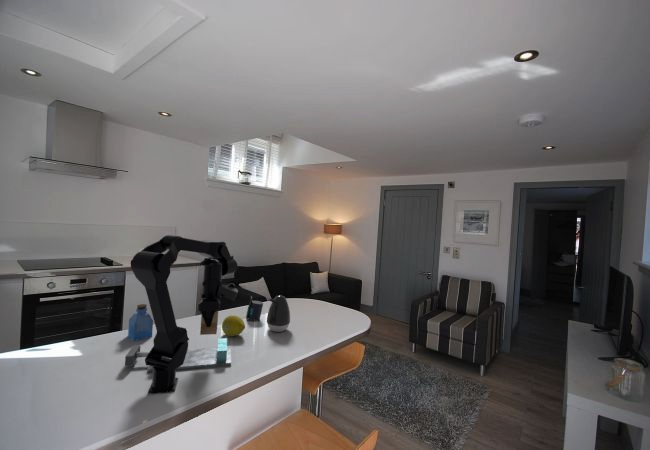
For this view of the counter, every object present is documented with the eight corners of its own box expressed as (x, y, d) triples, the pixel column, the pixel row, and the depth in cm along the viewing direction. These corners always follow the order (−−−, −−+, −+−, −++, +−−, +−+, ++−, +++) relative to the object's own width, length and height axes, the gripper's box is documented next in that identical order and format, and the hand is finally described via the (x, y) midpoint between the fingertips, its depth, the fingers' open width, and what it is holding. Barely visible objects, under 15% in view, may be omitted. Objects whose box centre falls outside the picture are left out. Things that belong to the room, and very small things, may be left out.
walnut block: (216, 334, 98) (218, 310, 98) (200, 334, 97) (201, 310, 97) (217, 328, 103) (218, 305, 103) (201, 329, 101) (203, 305, 101)
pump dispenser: (261, 328, 131) (263, 294, 131) (281, 324, 138) (283, 291, 138) (273, 336, 123) (276, 299, 123) (294, 331, 130) (296, 296, 130)
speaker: (242, 320, 139) (246, 298, 139) (246, 316, 144) (249, 295, 145) (258, 323, 138) (262, 301, 138) (261, 319, 144) (265, 298, 144)
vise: (147, 372, 89) (148, 357, 89) (156, 354, 101) (157, 340, 101) (230, 365, 97) (231, 351, 97) (230, 349, 108) (231, 336, 108)
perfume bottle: (145, 332, 118) (147, 302, 118) (152, 336, 114) (154, 305, 114) (128, 336, 114) (129, 304, 113) (133, 341, 110) (135, 308, 109)
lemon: (216, 334, 121) (218, 314, 121) (233, 329, 127) (234, 311, 127) (231, 342, 114) (233, 321, 114) (248, 337, 120) (250, 317, 120)
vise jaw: (123, 368, 88) (124, 357, 88) (133, 353, 98) (134, 343, 98) (164, 365, 92) (165, 354, 92) (170, 351, 101) (171, 341, 101)
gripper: (238, 284, 93) (234, 333, 93) (237, 273, 111) (234, 314, 111) (199, 284, 90) (196, 335, 90) (205, 272, 108) (202, 315, 108)
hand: (209, 324), depth 100 cm, fingers closed on walnut block, 5 cm apart
